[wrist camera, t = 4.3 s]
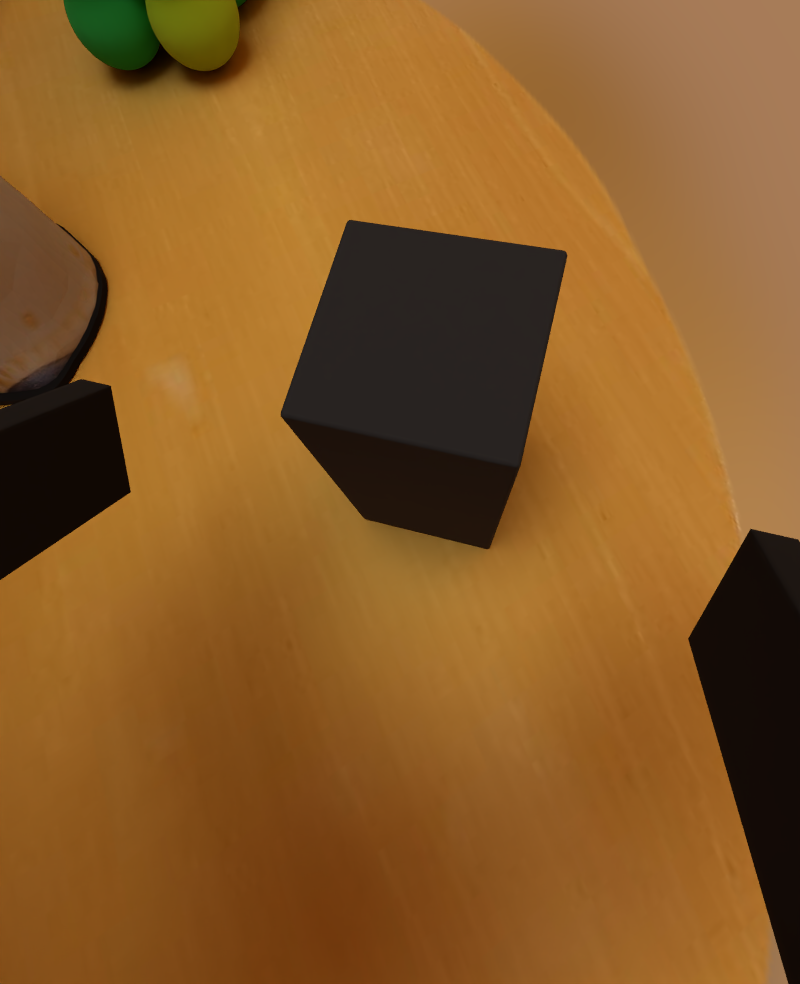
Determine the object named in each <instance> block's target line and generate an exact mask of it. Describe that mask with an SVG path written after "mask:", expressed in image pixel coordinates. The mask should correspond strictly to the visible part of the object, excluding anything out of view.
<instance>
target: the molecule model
mask: <svg viewBox="0 0 800 984" xmlns="http://www.w3.org/2000/svg"><path fill="white" fill-rule="evenodd" d="M245 1H246V0H64V6H65V10H66V14H67V17H68V19H69V22H70V24H71V26H72V28H73V30H74V32H75V34H76V35H77V37H78V38H79V40H80V41H81V42H82V44H83V45H84V46H85V47H86V48H87V50H88V51H90V52H91V53H92V54H93V55H94V56H95V57H96V58H98V59H99V60H101V61H102V62H103V63H105V64H107V65H109V66H111V67H114V68H117V69H121V70H135V69H139V68H142V67H144V66H145V65H147V64H148V63H149V62H150V61H151V60H152V59H153V58H154V57H155V55H156V53H157V51H158V48H159V45H160V43H161V45H162V46H163V47H164V49H165V50H166V51H167V52H168V53H169V54H170V55H171V56H172V57H173V58H174V59H175V60H177V61H178V62H179V63H181V64H183V65H184V66H186V67H188V68H191V69H194V70H198V71H210V70H214V69H217V68H219V67H221V66H223V65H224V64H225V63H226V62H227V61H228V60H229V59H230V58H231V56H232V55H233V53H234V51H235V49H236V46H237V44H238V40H239V33H240V20H239V12H238V8H237V7H239V6H241V5H242V4H243V3H244V2H245Z"/></svg>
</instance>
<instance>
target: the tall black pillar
mask: <svg viewBox="0 0 800 984" xmlns="http://www.w3.org/2000/svg"><path fill="white" fill-rule="evenodd" d="M566 259H567V253H566V252H565V251H562V250H555V249H548V248H541V247H535V246H528V245H521V244H514V243H507V242H500V241H493V240H486V239H479V238H472V237H465V236H458V235H451V234H444V233H437V232H430V231H423V230H416V229H409V228H402V227H395V226H388V225H381V224H374V223H367V222H360V221H353V220H349V221H348V222H347V224H346V226H345V229H344V232H343V235H342V238H341V241H340V244H339V247H338V249H337V252H336V255H335V258H334V261H333V264H332V267H331V270H330V272H329V275H328V278H327V281H326V284H325V287H324V290H323V293H322V296H321V298H320V301H319V304H318V307H317V310H316V313H315V316H314V319H313V321H312V324H311V327H310V330H309V333H308V336H307V339H306V342H305V344H304V347H303V350H302V353H301V356H300V359H299V362H298V365H297V367H296V370H295V373H294V376H293V379H292V382H291V385H290V388H289V390H288V393H287V396H286V399H285V402H284V405H283V408H282V411H281V417H282V418H283V419H284V421H285V422H286V423H287V424H288V425H289V427H290V428H291V429H292V430H293V432H294V433H295V434H296V435H297V437H298V438H299V439H300V440H301V441H302V443H303V444H304V445H305V446H306V448H307V449H308V450H309V451H310V452H311V454H312V455H313V456H314V457H315V459H316V460H317V461H318V462H319V464H320V465H321V466H322V467H323V468H324V470H325V471H326V472H327V473H328V475H329V476H330V477H331V478H332V479H333V481H334V482H335V483H336V484H337V486H338V487H339V488H340V489H341V491H342V492H343V493H344V494H345V495H346V497H347V498H348V499H349V500H350V502H351V503H352V504H353V505H354V506H355V508H356V509H357V510H358V511H359V513H360V514H361V515H362V516H363V518H365V519H368V520H372V521H376V522H380V523H384V524H388V525H392V526H396V527H400V528H404V529H408V530H412V531H416V532H420V533H424V534H428V535H432V536H436V537H440V538H444V539H449V540H453V541H457V542H461V543H465V544H469V545H473V546H477V547H481V548H485V549H489V548H490V545H491V543H492V540H493V537H494V535H495V532H496V529H497V527H498V524H499V521H500V519H501V516H502V513H503V511H504V508H505V505H506V503H507V500H508V497H509V495H510V492H511V489H512V487H513V484H514V481H515V478H516V476H517V473H518V470H519V468H520V465H521V461H522V456H523V452H524V447H525V443H526V438H527V434H528V429H529V425H530V420H531V416H532V412H533V407H534V403H535V398H536V394H537V389H538V385H539V380H540V376H541V371H542V367H543V362H544V358H545V353H546V349H547V344H548V340H549V335H550V331H551V327H552V322H553V318H554V313H555V309H556V304H557V300H558V295H559V291H560V286H561V282H562V277H563V273H564V268H565V264H566Z"/></svg>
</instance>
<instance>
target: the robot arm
mask: <svg viewBox="0 0 800 984" xmlns="http://www.w3.org/2000/svg"><path fill="white" fill-rule="evenodd" d="M130 492H131V491H130V486H129V480H128V475H127V470H126V465H125V459H124V454H123V449H122V443H121V438H120V433H119V427H118V422H117V417H116V412H115V406H114V401H113V396H112V390H111V386H109V385H105V384H100V383H96V382H91V381H87V380H82V379H80V380H78V381H75V382H72V383H70V384H67V385H64V386H61V387H59V388H56V389H53V390H51V391H48V392H45V393H43V394H40V395H37V396H34V397H32V398H29V399H26V400H24V401H21V402H18V403H15V404H13V405H10V406H7V407H5V408H2V409H0V580H1V579H2V578H4V577H5V576H7V575H8V574H10V573H11V572H13V571H14V570H16V569H17V568H19V567H20V566H22V565H23V564H25V563H26V562H28V561H29V560H31V559H32V558H34V557H35V556H37V555H38V554H39V553H41V552H42V551H44V550H45V549H47V548H48V547H50V546H51V545H53V544H54V543H56V542H57V541H59V540H60V539H62V538H63V537H65V536H66V535H68V534H69V533H71V532H72V531H74V530H75V529H77V528H78V527H80V526H81V525H83V524H84V523H86V522H87V521H88V520H90V519H91V518H93V517H94V516H96V515H97V514H99V513H100V512H102V511H103V510H105V509H106V508H108V507H109V506H111V505H112V504H114V503H115V502H117V501H118V500H120V499H121V498H123V497H124V496H126V495H127V494H129V493H130ZM688 639H689V643H690V646H691V650H692V653H693V657H694V660H695V664H696V667H697V670H698V674H699V677H700V681H701V684H702V688H703V691H704V695H705V698H706V701H707V705H708V708H709V712H710V715H711V719H712V722H713V726H714V729H715V732H716V736H717V739H718V743H719V746H720V750H721V753H722V757H723V760H724V763H725V767H726V770H727V774H728V777H729V781H730V784H731V788H732V791H733V794H734V798H735V801H736V805H737V808H738V812H739V815H740V819H741V822H742V825H743V829H744V832H745V836H746V839H747V843H748V846H749V850H750V853H751V856H752V860H753V863H754V867H755V870H756V874H757V877H758V881H759V884H760V887H761V891H762V894H763V898H764V901H765V905H766V908H767V912H768V915H769V918H770V922H771V925H772V929H773V932H774V936H775V939H776V943H777V946H778V949H779V953H780V956H781V960H782V963H783V967H784V970H785V973H786V977H787V980H788V984H800V542H799V540H798V539H793V538H788V537H784V536H780V535H775V534H771V533H766V532H761V531H757V530H753V529H751V530H750V531H749V533H748V534H747V536H746V538H745V540H744V542H743V543H742V545H741V547H740V549H739V550H738V552H737V554H736V556H735V557H734V559H733V561H732V563H731V564H730V566H729V568H728V570H727V571H726V573H725V575H724V577H723V578H722V580H721V582H720V584H719V586H718V587H717V589H716V591H715V593H714V594H713V596H712V598H711V600H710V601H709V603H708V605H707V607H706V608H705V610H704V612H703V614H702V615H701V617H700V619H699V621H698V622H697V624H696V626H695V628H694V630H693V631H692V633H691V635H690V637H689V638H688Z"/></svg>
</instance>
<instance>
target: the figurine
mask: <svg viewBox="0 0 800 984" xmlns="http://www.w3.org/2000/svg"><path fill="white" fill-rule="evenodd" d="M106 297H107V283H106V278H105V276H104V274H103V271H102V269H101V267H100V265H99V262H98V261H97V260H96V258H95V257H94V256H93V255H92V254H91V253H90V252H89V251H88V250H87V249H86V248H85V247H84V246H83V245H82V244H81V243H80V242H79V241H77V240H76V239H75V238H74V237H73V236H72V235H71V234H70V233H69V232H68V231H67V230H65V229H64V228H63V227H62V226H60V225H58V224H56V223H54V222H53V221H52V220H51V219H50V218H48V217H47V216H46V215H45V214H44V213H43V212H42V211H40V210H39V209H38V208H37V207H36V206H35V205H34V204H33V203H32V202H31V201H29V200H28V199H27V198H26V197H25V196H24V195H22V194H21V193H20V192H19V191H18V190H16V189H15V188H14V187H13V186H12V185H11V184H9V183H8V182H7V181H6V180H5V179H4V178H2V177H1V176H0V405H8V404H15V403H18V402H21V401H24V400H26V399H29V398H32V397H34V396H37V395H40V394H43V393H45V392H48V391H51V390H53V389H56V388H59V387H61V386H64V385H67V384H68V382H69V381H70V379H71V378H72V376H73V375H74V373H75V371H76V369H77V367H78V365H79V364H80V362H81V361H82V359H83V358H84V356H85V355H86V353H87V351H88V349H89V348H90V346H91V344H92V342H93V341H94V338H95V336H96V334H97V332H98V329H99V327H100V324H101V322H102V319H103V315H104V311H105V305H106Z"/></svg>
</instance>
